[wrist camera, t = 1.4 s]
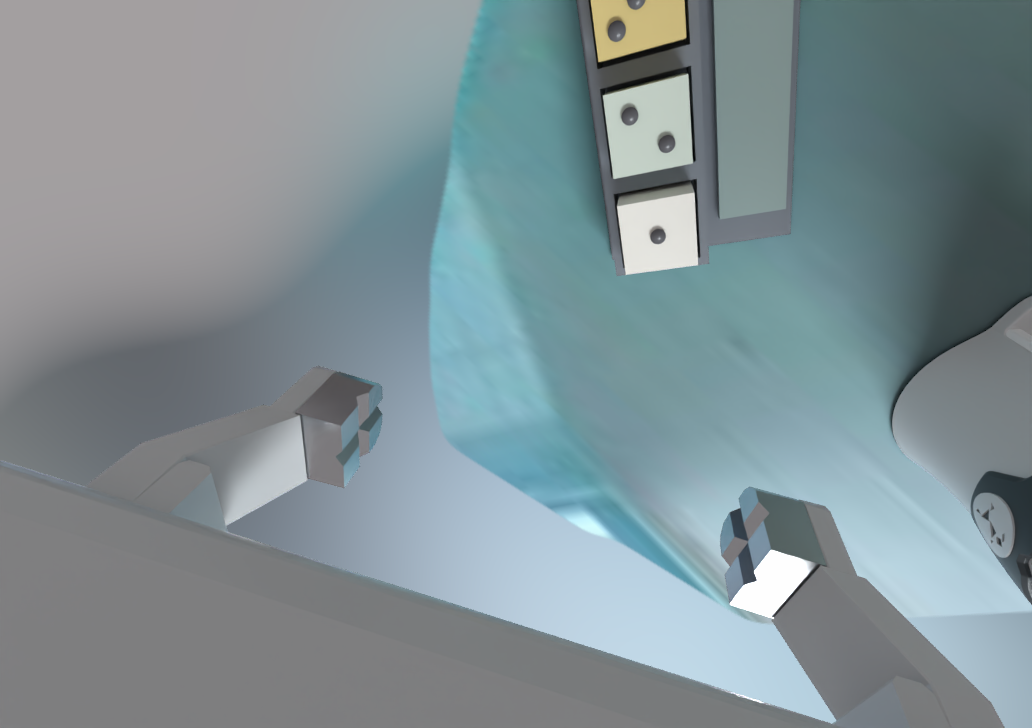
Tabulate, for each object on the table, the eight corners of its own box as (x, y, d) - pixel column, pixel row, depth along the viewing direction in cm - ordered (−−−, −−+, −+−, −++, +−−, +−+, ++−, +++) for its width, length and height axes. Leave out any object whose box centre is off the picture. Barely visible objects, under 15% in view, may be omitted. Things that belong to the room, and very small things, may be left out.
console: (802, -113, 25) (826, -139, 21) (788, 231, 33) (803, 250, 30) (572, -34, 28) (562, -46, 25) (613, 257, 37) (609, 277, 34)
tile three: (677, -60, 25) (680, -76, 22) (682, 40, 27) (686, 37, 24) (592, -31, 26) (584, -43, 23) (603, 61, 28) (598, 62, 25)
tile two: (684, 72, 28) (688, 74, 25) (688, 153, 30) (693, 164, 27) (607, 92, 29) (602, 96, 26) (616, 168, 31) (613, 179, 28)
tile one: (690, 180, 31) (694, 193, 28) (694, 246, 33) (698, 266, 30) (619, 193, 32) (616, 207, 29) (627, 256, 34) (625, 275, 31)
